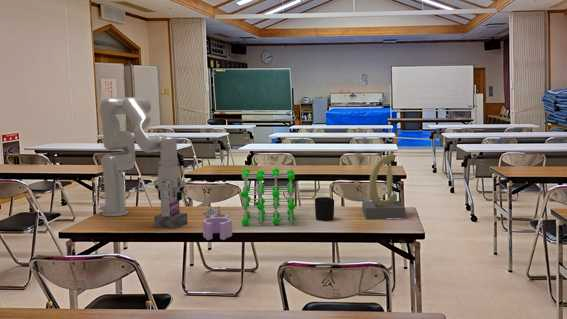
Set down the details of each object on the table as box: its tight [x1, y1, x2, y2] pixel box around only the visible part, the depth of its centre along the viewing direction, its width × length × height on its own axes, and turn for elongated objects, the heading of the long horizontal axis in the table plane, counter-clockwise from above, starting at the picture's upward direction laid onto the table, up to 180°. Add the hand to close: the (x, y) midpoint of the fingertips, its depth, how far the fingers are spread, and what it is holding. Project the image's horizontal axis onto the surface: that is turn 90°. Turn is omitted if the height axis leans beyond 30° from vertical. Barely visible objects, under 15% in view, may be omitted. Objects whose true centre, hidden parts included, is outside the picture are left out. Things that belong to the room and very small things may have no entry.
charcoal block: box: [154, 212, 188, 230], centre depth 287 cm, size 11×11×5 cm
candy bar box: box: [160, 181, 181, 217], centre depth 286 cm, size 11×5×16 cm, turn 167°
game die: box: [202, 205, 223, 219], centre depth 290 cm, size 9×8×10 cm
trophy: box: [361, 153, 406, 220], centre depth 301 cm, size 19×19×30 cm
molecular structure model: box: [240, 167, 296, 227], centre depth 293 cm, size 24×25×24 cm
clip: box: [202, 213, 233, 241], centre depth 268 cm, size 20×12×7 cm, turn 179°
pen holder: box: [314, 196, 335, 222], centre depth 295 cm, size 9×9×10 cm
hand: (170, 199), depth 286 cm, fingers open, 9 cm apart
